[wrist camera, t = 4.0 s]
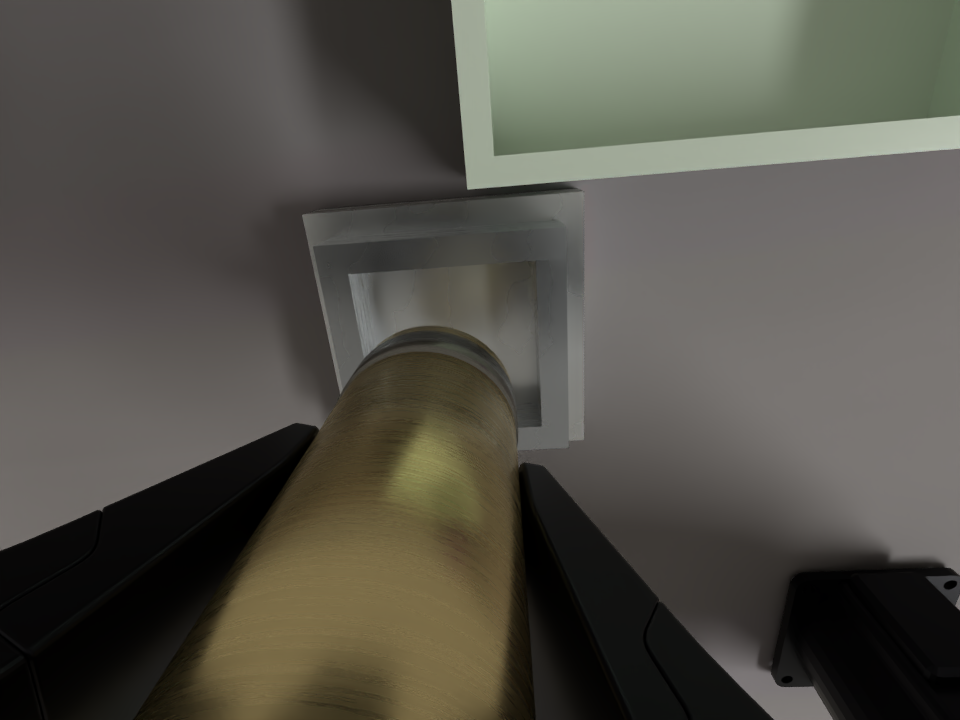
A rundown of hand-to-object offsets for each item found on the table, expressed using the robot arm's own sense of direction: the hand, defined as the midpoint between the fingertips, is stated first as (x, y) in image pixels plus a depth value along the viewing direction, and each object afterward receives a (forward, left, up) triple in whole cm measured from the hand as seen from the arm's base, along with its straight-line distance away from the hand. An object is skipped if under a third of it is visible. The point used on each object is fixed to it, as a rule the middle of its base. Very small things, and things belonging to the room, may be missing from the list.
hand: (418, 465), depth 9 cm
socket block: (0, 0, -8) cm, 9 cm away
